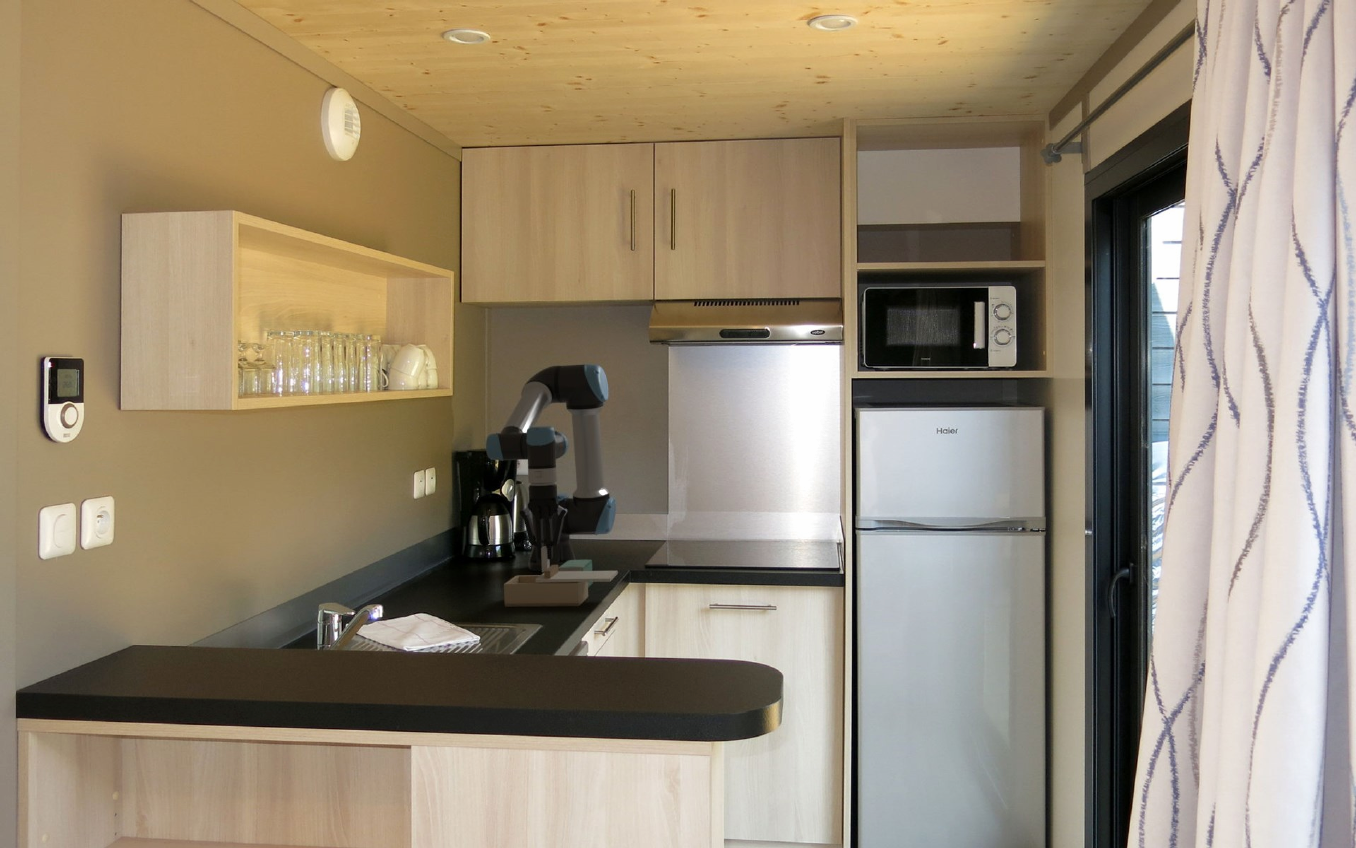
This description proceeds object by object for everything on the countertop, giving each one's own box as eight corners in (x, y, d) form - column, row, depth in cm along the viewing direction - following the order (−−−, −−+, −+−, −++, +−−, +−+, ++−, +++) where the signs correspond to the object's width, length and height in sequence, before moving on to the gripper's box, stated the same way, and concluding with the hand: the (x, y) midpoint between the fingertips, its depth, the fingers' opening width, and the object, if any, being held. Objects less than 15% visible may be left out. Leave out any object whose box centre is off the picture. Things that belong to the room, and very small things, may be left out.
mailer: (517, 597, 281) (516, 575, 281) (588, 596, 279) (587, 574, 278) (504, 606, 269) (503, 584, 269) (578, 606, 267) (578, 583, 267)
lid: (545, 574, 279) (545, 564, 279) (617, 573, 277) (617, 563, 277) (535, 582, 268) (535, 571, 268) (610, 581, 266) (609, 570, 266)
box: (593, 583, 297) (592, 558, 297) (584, 593, 284) (582, 566, 284) (568, 584, 298) (567, 558, 298) (558, 594, 285) (557, 567, 284)
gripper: (515, 485, 270) (518, 574, 271) (563, 484, 268) (566, 573, 269) (522, 483, 277) (526, 569, 278) (569, 482, 276) (572, 568, 277)
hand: (545, 571), depth 274 cm, fingers closed
